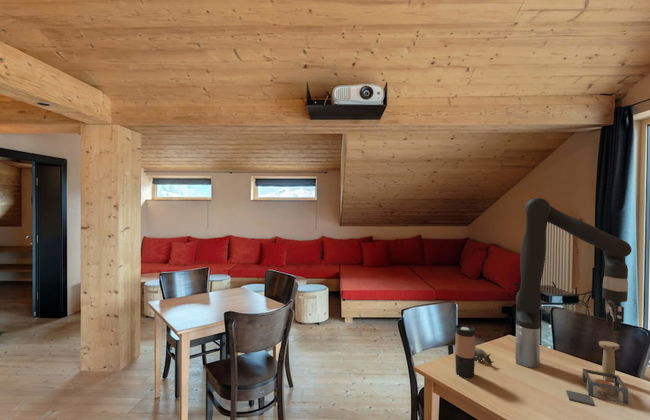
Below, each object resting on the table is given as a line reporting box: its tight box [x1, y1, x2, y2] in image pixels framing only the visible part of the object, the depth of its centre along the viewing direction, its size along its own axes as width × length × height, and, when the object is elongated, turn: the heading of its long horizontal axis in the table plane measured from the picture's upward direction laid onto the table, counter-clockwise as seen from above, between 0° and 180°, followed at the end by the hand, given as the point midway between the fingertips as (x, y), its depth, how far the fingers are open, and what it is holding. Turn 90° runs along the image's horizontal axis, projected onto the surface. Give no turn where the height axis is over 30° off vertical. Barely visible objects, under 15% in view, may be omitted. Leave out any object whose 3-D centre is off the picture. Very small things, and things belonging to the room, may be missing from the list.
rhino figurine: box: [475, 346, 495, 365], centre depth 144 cm, size 4×14×6 cm, turn 28°
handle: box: [598, 340, 620, 383], centre depth 129 cm, size 5×6×15 cm
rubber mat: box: [566, 389, 595, 406], centre depth 117 cm, size 7×6×1 cm
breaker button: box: [594, 378, 614, 390], centre depth 120 cm, size 5×5×1 cm
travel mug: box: [454, 323, 476, 379], centre depth 133 cm, size 8×8×20 cm
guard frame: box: [581, 368, 629, 405], centre depth 120 cm, size 11×11×5 cm
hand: (613, 327), depth 128 cm, fingers open, 8 cm apart
